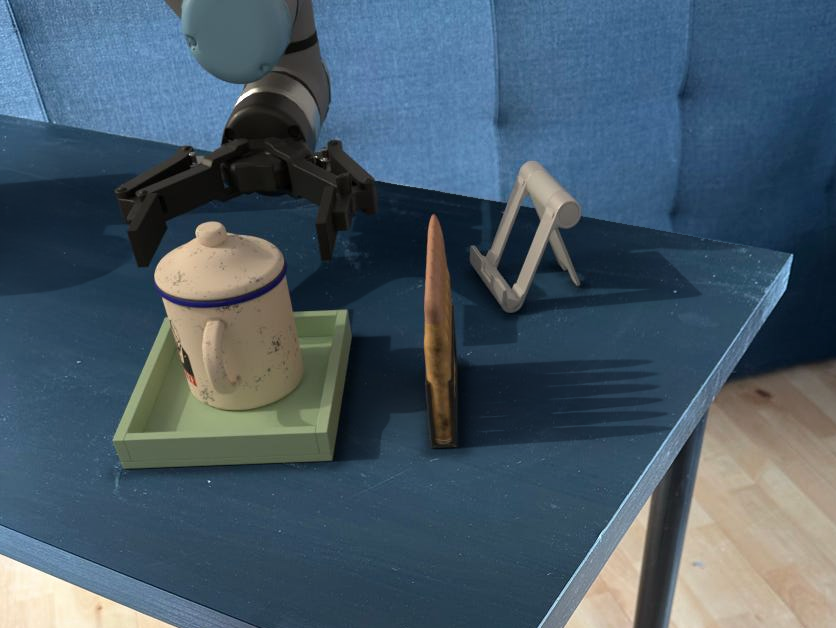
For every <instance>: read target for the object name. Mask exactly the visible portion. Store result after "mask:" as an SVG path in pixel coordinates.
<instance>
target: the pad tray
mask: <svg viewBox="0 0 836 628" xmlns="http://www.w3.org/2000/svg"><path fill="white" fill-rule="evenodd" d="M293 315H294V320H295V325H296V330H297V335H298V341H299V346H300V351H301V356H302V361H303V366H304V374H303V377H302V380H301V382H300V383H299V385H298V386H297V387H296V388H295V389H294V390H293V391H292V392H291V393H290V394H288V395H287V396H285V397H284V398H282V399H280V400H278V401H276V402H274V403H271V404H269V405H266V406H262V407H258V408H253V409H246V410H225V409H219V408H214V407H211V406H208V405H206V404H204V403H202V402H201V401H199V400H198V399H197V398H196V397H195V396H194V395H193V394H192V392H191V390H190V387H189V384H188V381H187V377H186V374H185V371H184V368H183V364H182V361H181V358H180V355H179V351H178V348H177V345H176V341H175V338H174V335H173V332H172V328H171V325H170V322H169V319H168V316H166V317H164V319H163V322H162V324H161V326H160V329H159V331H158V334H157V335H156V338H155V340H154V342H153V344H152V347H151V350H150V352H149V355H148V357H147V359H146V361H145V364H144V365H143V368H142V371H141V373H140V375H139V378H138V379H137V382H136V384H135V387H134V389H133V391H132V393H131V396H130V399H129V401H128V403H127V406H126V408H125V410H124V412H123V415H122V417H121V419H120V422H119V424H118V426H117V429H116V432H115V434H114V436H113V438H112V444H113V446H114V448H115V451H116V453H117V456H118V458H119V461H120V463H121V466H122V468H123V470H126V469H127V470H129V469H149V468H150V469H153V468H154V469H156V468H157V469H158V468H177V467H178V468H179V467H202V466H204V467H205V466H207V467H208V466H231V465H258V464H259V465H260V464H261V465H262V464H282V463H285V464H286V463H309V462H312V463H313V462H332V461H333V459H334V453H335V448H336V447H335V446H336V441H337V434H338V427H339V422H340V415H341V408H342V401H343V394H344V389H345V383H346V376H347V370H348V365H349V355H350V352H351V345H352V339H353V336H352V330H351V329H352V328H351V323H350V316H349V310H348V309H333V310H308V311H306V310H305V311H293Z"/></svg>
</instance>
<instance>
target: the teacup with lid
mask: <svg viewBox="0 0 836 628" xmlns="http://www.w3.org/2000/svg"><path fill="white" fill-rule="evenodd" d="M287 273H288V263H287V260H286V258H285V257H284V254H283V253H282V251H281V250H280V249H279V247H278V246H276V245H275V244H274V243H271V242H270V241H269V240H267V239H264V238H260V237H257V236H252V235H244V234H236V233H230V232H227V230H226V227H225V226H224V224H222V223H221V222H219V221H206V222H203V223H200V224H199V225H198V226H197V227H196V229H195V238H193V239H192V240H190V241H188V242H186V243H184V244H181V245H180V246H178V247H176V248H174V249H172V250H171V251H169V252H168V253H166V254H165V255H164V256H163V257H162V258H161V259H160V261H159V262H158V264H157V265H156V267H155V271H154V280H153V284H154V288H155V291H156V292H157V294H158V295H159V296H160V297H161V299H162V302H163V305H164V308H165V309H164V310H165V312H166V315H167V317H168V319H169V322H170V325H171V328H172V332H173V335H174V338H175V341H176V345H177V348H178V351H179V355H180V358H181V361H182V364H183V368H184V371H185V374H186V377H187V381H188V384H189V387H190V390H191V392H192V394H193V395H194V396H195V397H196V398H197V399H198V400H199V401H201V402H202V403H204V404H206V405H208V406H211V407H214V408H219V409H225V410H246V409H253V408H258V407H262V406H266V405H269V404H271V403H274V402H276V401H278V400H280V399H282V398H284V397H285V396H287V395H288V394H290V393H291V392H292V391H293V390H294V389H295V388H296V387H297V386H298V385H299V383H300V382H301V380H302V377H303V374H304V366H303V361H302V356H301V351H300V346H299V341H298V335H297V330H296V325H295V320H294V315H293V312H294V311H293V307H292V301H291V296H290V291H289V286H288V282H287V281H288V280H287V276H286V274H287Z"/></svg>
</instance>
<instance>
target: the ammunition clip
mask: <svg viewBox="0 0 836 628" xmlns="http://www.w3.org/2000/svg"><path fill="white" fill-rule="evenodd" d="M442 230H443V229H442V226H441V224H440V221H439V219H438V217H437V216H436V214H435V213H434V214H433V213H432V215H431V217H430V219H429V223H428V229H427V245H426V268H425V283H424V286H425V287H424V305H423V307H424V310H423V311H424V337H423V351H424V360H425V361H424V362H425V377H424V385H425V386H424V387H425V398H426V410H427V421H428V430H429V431H428V432H429V442H430V449H445V448H458V441H459V440H458V435H459V433H458V430H459V429H458V428H459V426H458V422H459V421H458V418H459V417H458V416H459V413H458V409H459V407H458V404H459V402H458V400H459V399H458V397H459V395H458V393H459V392H458V391H459V388H458V387H459V380H458V377H459V376H458V375H459V374H458V373H459V371H458V369H459V368H458V367H459V366H458V352H457V351H458V350H457V337H456V321H455V306H454V305H453V304H452V289H451V276H450V272H449V268H448V264H447V263H448V262H447V254H446V247H445V246H446V245H445V240H444V234H443V231H442Z"/></svg>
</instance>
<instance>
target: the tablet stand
mask: <svg viewBox="0 0 836 628" xmlns="http://www.w3.org/2000/svg"><path fill="white" fill-rule="evenodd" d="M527 196H529V197H530V199H531V202H532V204H533V207H534V209H535V211H536V214H537V217H538V218H539V225H538V227H537V229H536V232H535V235H534V236H533V240H532V242H531V245H530V247H529V249H528V252H527V255H526V257H525V260H524V263H523V264H522V267H521V270H520V272H519V275H518V278H517V280H516V282H515V283H514V284H513V285H512V287H511V286H510V285H509V284H508V282H507V281H506V279H504V276H502V274H501V273H500V272H499V270H498V266H499V264H500V261H501V259H502V255H503V254H504V251H505V248H506V245H507V242H508V240H509V237H510V234H511V232H512V229H513V227H514V223H515V221H516V218H517V216H518V213H519V210H520V208H521V205H522V202H523V200H524V198H526V197H527ZM581 218H582V207H581V205H580V204H579V202H578V201H577V200H576V199H575V198H574V197H573V196H572V195H571V194H570V193H569V192H568V191H567V190H566V188H564V187H563V186H562V185H561V183H559V182H558V181H557V180H556V179H555V178H554V177H553V176H552V175H551V174H550V173H549V172H548V171H547V170H546V168H544V166H542V164H540V162H538V161H536V160H529V161H527V162H525V163H524V164H522V165H521V167H520V169H519V171H518V173H517V177H516V179H515V182H514V184H513V188H512V190H511V193H510V196H509V197H508V201H507V204H506V207H505V209H504V211H503V215H502V217H501V220H500V222H499V225H498V228H497V230H496V232H495V233H496V234H495V236H494V239H493V242H492V244H491V247H490V249H488V251H487V253H486V256H485V255H482V253H481V252H480V251H479V249H478V248H477V247H476V245H470V250H469V251H470V253H469V263H470V265H471V266H472V268H473V269H474V270H475V272H476V273H477V274H478V276H479V278H480V279H481V280H482V282H483V284H485V286H486V287H487V289H488V290H489V291H490V293H491V294H492V296H493V298H495V300H496V302H497V303H498V305H499V306H500V307H501V308H502V310H503V311H504V312H505V313H509V314H513V313H516V312H518V311H519V310H520V309H522V307H523V305H524V302H525V300H526V297H527V295H528V292H529V290H530V287H531V285H532V282H533V280H534V277H535V275H536V272H537V270H538V268H539V265H540V263H541V260H542V258H543V255H544V253H545V250H546V248H547V245H548V243H549V245H550V247H551V250H552V252H553V255H554V257H555V259H556V262H557V264H558V265H559V266H560V268H561V269H562V270H563V271H564V272H565V271H568V273H569V275H570V278H571V280H572V282H573V283H574V284H575V285H576V287H580V286H581V281H580V280H579V277H578V275H577V272H576V270H575V267H574V265H573V262H572V260H571V257H570V254H569V252H568V250H567V247H566V245H565V242H564V240H563V238H562V235H561V233H560V229H566V230H567V229H571V228H573V227H575V226H576V225H577V224H578V223H579V221H580V219H581Z"/></svg>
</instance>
